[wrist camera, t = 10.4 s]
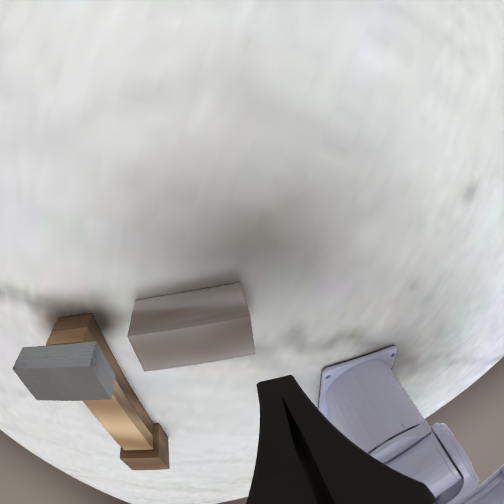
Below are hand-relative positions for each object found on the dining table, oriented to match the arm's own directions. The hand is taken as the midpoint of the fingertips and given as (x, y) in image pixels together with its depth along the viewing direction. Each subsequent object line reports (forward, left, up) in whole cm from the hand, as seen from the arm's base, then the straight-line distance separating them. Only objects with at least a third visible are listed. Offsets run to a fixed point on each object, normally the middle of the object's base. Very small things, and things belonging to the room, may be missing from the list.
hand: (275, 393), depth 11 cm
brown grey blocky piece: (-9, +7, -9) cm, 15 cm away
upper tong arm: (-8, +12, -8) cm, 16 cm away
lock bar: (-2, +12, -6) cm, 13 cm away
